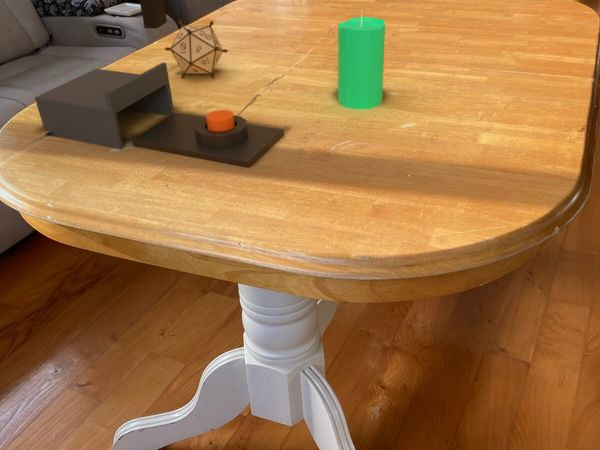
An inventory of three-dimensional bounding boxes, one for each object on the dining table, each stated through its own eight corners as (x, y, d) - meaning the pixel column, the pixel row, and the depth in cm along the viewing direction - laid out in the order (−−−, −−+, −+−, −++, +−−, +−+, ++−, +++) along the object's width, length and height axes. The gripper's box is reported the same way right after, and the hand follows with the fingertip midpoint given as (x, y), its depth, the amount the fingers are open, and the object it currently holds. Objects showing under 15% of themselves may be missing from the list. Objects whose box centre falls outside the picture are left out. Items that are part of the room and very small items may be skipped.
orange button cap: (202, 130, 68) (200, 118, 68) (216, 120, 71) (215, 108, 70) (226, 134, 67) (224, 122, 66) (239, 124, 70) (238, 111, 69)
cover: (45, 135, 74) (29, 81, 70) (104, 103, 83) (92, 53, 79) (121, 150, 70) (108, 93, 66) (174, 115, 78) (166, 62, 74)
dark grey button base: (132, 146, 71) (128, 127, 69) (175, 118, 77) (172, 100, 76) (249, 168, 65) (247, 148, 63) (284, 136, 71) (283, 116, 70)
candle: (371, 90, 83) (374, 2, 76) (389, 105, 78) (394, 13, 71) (331, 97, 81) (331, 8, 75) (347, 112, 77) (348, 19, 70)
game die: (213, 94, 94) (244, 39, 92) (198, 94, 86) (232, 33, 84) (166, 64, 94) (195, 8, 92) (146, 61, 86) (178, -1, 83)
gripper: (192, -246, 54) (222, 17, 67) (67, -235, 57) (119, 15, 70) (158, -255, 48) (198, 35, 61) (19, -242, 51) (86, 33, 64)
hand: (156, 24), depth 65 cm, fingers closed
